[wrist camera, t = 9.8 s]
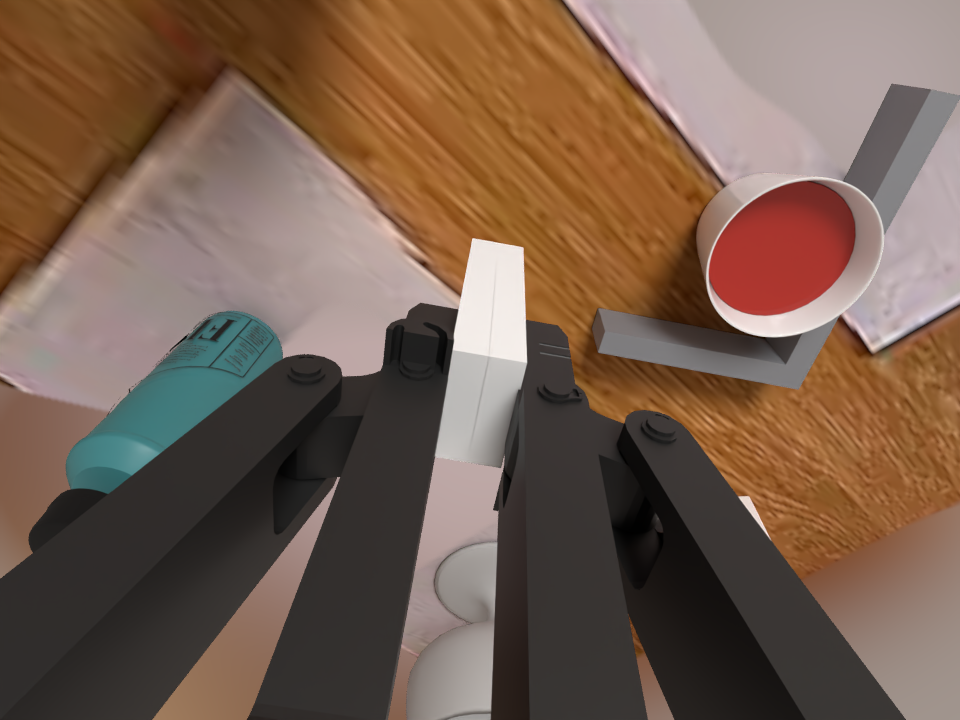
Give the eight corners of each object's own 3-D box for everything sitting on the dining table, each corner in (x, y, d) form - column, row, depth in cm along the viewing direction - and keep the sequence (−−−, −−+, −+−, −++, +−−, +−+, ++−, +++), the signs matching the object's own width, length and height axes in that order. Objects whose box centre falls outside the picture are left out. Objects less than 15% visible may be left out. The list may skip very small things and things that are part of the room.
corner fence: (682, 39, 31) (700, 41, 28) (919, 89, 32) (961, 95, 29) (591, 328, 40) (598, 352, 37) (777, 362, 41) (798, 389, 38)
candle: (772, 311, 39) (814, 357, 33) (652, 267, 38) (675, 307, 32) (858, 184, 35) (923, 214, 29) (726, 130, 33) (767, 151, 28)
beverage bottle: (260, 285, 40) (65, 480, 23) (311, 360, 43) (174, 585, 26) (187, 318, 42) (-46, 523, 24) (241, 388, 45) (68, 617, 27)
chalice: (396, 582, 55) (359, 752, 42) (494, 506, 49) (487, 677, 36) (501, 647, 59) (498, 820, 46) (604, 584, 54) (632, 762, 41)
